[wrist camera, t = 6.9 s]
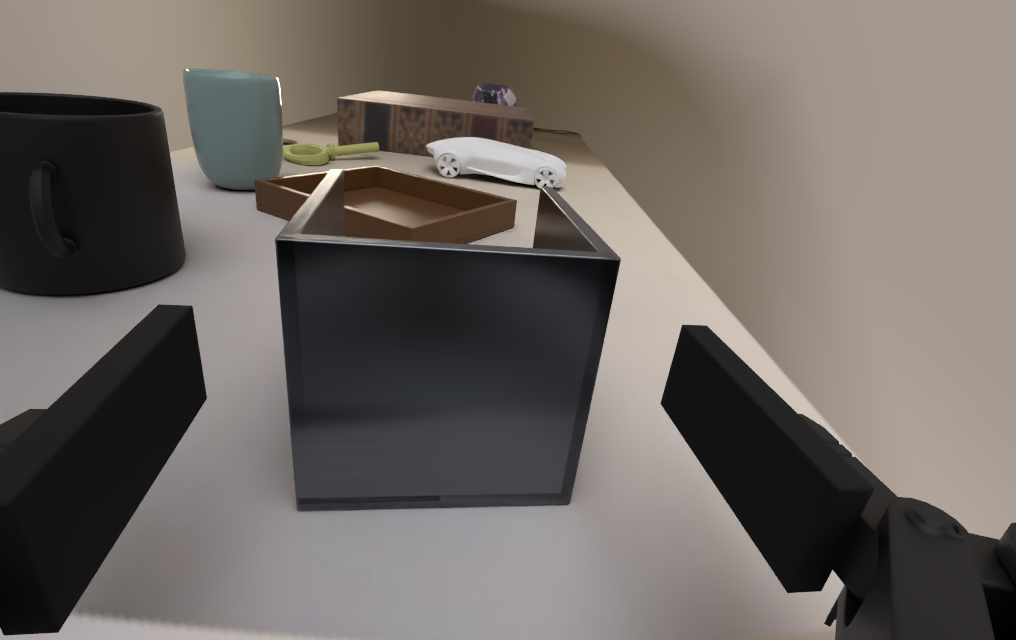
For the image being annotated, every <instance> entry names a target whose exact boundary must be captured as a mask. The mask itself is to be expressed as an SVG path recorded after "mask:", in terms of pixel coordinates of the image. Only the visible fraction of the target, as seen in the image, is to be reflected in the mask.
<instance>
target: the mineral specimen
mask: <svg viewBox="0 0 1016 640" xmlns="http://www.w3.org/2000/svg"><path fill="white" fill-rule="evenodd" d="M472 101H473V102H482V103H490V104H499V105H508V106H516V103H515V102H516V99H515V96H514V91H513V90H512V88H510V87H508V86H503V85H495V84H482V85H478V86H477V88H476V90H475V93H474V96H473V99H472Z"/></svg>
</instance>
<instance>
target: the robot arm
mask: <svg viewBox="0 0 1016 640" xmlns="http://www.w3.org/2000/svg"><path fill="white" fill-rule="evenodd" d="M206 399H207V396H206V389H205V383H204V377H203V371H202V364H201V358H200V352H199V345H198V339H197V333H196V326H195V320H194V314H193V307H192V306H181V305H158V306H157V307H156V308H154V309H153V310H152V311H151V312H150V313H149V314H148V315H147V316H146V317H145V318H144V319H143V320H142V321H141V322H140V323H139V324H137V325H136V326H135V327H134V328H133V329H132V330H131V331H130V332H129V333H128V334H127V335H126V336H125V337H124V338H123V339H121V340H120V341H119V342H118V343H117V344H116V345H115V346H114V347H113V348H112V349H111V350H110V351H109V352H108V353H107V354H105V355H104V356H103V357H102V358H101V359H100V360H99V361H98V362H97V363H96V364H95V365H94V366H93V367H92V368H91V369H90V370H88V371H87V372H86V373H85V374H84V375H83V376H82V377H81V378H80V379H79V380H78V381H77V382H76V383H75V384H74V385H72V386H71V387H70V388H69V389H68V390H67V391H66V392H65V393H64V394H63V395H62V396H61V397H60V398H59V399H58V400H57V401H55V402H54V403H53V404H52V405H51V406H50V407H49V408H48V409H29V410H27V411H25V412H24V413H22V414H20V415H18V416H16V417H14V418H12V419H10V420H8V421H6V422H5V423H3V424H1V425H0V628H1V629H2V632H3V634H4V635H19V634H38V633H57V632H59V630H60V629H61V627H62V625H63V624H64V622H65V621H66V619H67V618H68V616H69V615H70V613H71V612H72V610H73V608H74V607H75V605H76V604H77V602H78V601H79V599H80V597H81V596H82V594H83V593H84V591H85V590H86V588H87V586H88V585H89V583H90V582H91V580H92V578H93V577H94V575H95V574H96V572H97V571H98V569H99V567H100V566H101V564H102V563H103V561H104V560H105V558H106V556H107V555H108V553H109V552H110V550H111V549H112V547H113V545H114V544H115V542H116V541H117V539H118V538H119V536H120V534H121V533H122V531H123V530H124V528H125V527H126V525H127V523H128V522H129V520H130V519H131V517H132V516H133V514H134V512H135V511H136V509H137V508H138V506H139V504H140V503H141V501H142V500H143V498H144V497H145V495H146V493H147V492H148V490H149V489H150V487H151V486H152V484H153V482H154V481H155V479H156V478H157V476H158V475H159V473H160V471H161V470H162V468H163V467H164V465H165V464H166V462H167V460H168V459H169V457H170V456H171V454H172V453H173V451H174V449H175V448H176V446H177V445H178V443H179V442H180V440H181V438H182V437H183V435H184V434H185V432H186V430H187V429H188V427H189V426H190V424H191V423H192V421H193V419H194V418H195V416H196V415H197V413H198V412H199V410H200V408H201V407H202V405H203V404H204V402H205V401H206ZM661 405H662V407H663V408H664V410H665V411H666V412H667V414H668V415H669V417H670V418H671V420H672V421H673V423H674V424H675V426H676V427H677V429H678V430H679V432H680V433H681V435H682V436H683V438H684V439H685V441H686V442H687V444H688V445H689V447H690V448H691V450H692V451H693V453H694V454H695V456H696V457H697V459H698V460H699V462H700V463H701V465H702V466H703V468H704V469H705V471H706V472H707V474H708V475H709V477H710V478H711V480H712V481H713V482H714V484H715V485H716V487H717V488H718V490H719V491H720V493H721V494H722V496H723V497H724V499H725V500H726V502H727V503H728V505H729V506H730V508H731V509H732V511H733V512H734V514H735V515H736V517H737V518H738V520H739V521H740V523H741V524H742V526H743V527H744V529H745V530H746V532H747V533H748V535H749V536H750V538H751V539H752V541H753V542H754V544H755V545H756V547H757V548H758V550H759V551H760V552H761V554H762V555H763V557H764V558H765V560H766V561H767V563H768V564H769V566H770V567H771V569H772V570H773V572H774V573H775V575H776V576H777V578H778V579H779V581H780V582H781V584H782V585H783V587H784V588H785V590H786V591H787V593H795V592H814V591H821V590H822V588H823V587H824V585H825V583H826V581H827V579H828V577H829V575H830V573H831V571H832V569H833V570H834V572H835V573H836V574H837V576H838V577H839V578H840V579H841V581H842V582H843V583H844V584H845V585H844V587H843V589H842V591H841V593H840V594H839V596H838V598H837V600H836V602H835V604H834V605H833V607H832V609H831V611H830V613H829V615H828V616H827V619H826V621H825V623H824V624H826V625H828V626H831V625H832V623H833V621H834V620H835V619H837V621H836V635H835V640H1016V523H1012V524H1011V525H1010V526H1009V527H1008V529H1007V530H1006V532H1005V533H1004V535H1003V536H1002V538H1001V539H1000V540H998V539H993V538H989V537H984V536H979V535H975V534H971V533H968V532H967V530H966V529H965V528H964V527H963V526H962V525H961V524H960V523H959V522H958V521H957V520H956V519H954V518H953V517H951V516H950V515H948V514H947V513H945V512H944V511H942V510H941V509H939V508H936V507H935V506H932V505H930V504H928V503H926V502H923V501H919V500H916V499H913V498H903V497H897V496H896V495H895V494H894V493H893V492H892V491H891V490H890V489H889V488H888V487H887V486H886V485H884V484H883V483H882V482H881V481H880V480H879V479H878V478H877V477H876V476H875V475H874V474H873V473H872V472H871V471H870V470H868V469H867V468H866V467H865V466H864V465H863V464H862V463H861V462H860V461H859V460H858V459H857V458H856V457H852V454H851V453H850V452H849V451H848V450H847V449H846V448H845V447H844V446H843V445H839V441H838V440H837V439H835V438H834V437H833V436H832V435H831V434H830V433H829V432H828V431H827V430H826V429H825V428H824V427H822V426H821V425H819V424H817V423H816V422H814V421H813V420H811V419H809V418H808V417H806V416H804V415H803V414H797V413H796V412H795V411H794V410H793V409H792V408H791V407H790V406H789V405H788V404H787V403H786V402H785V401H784V400H783V399H782V398H781V397H780V396H779V395H778V394H777V393H776V392H775V391H774V390H773V389H771V388H770V387H769V386H768V385H767V384H766V383H765V382H764V381H763V380H762V379H761V378H760V377H759V376H758V375H757V374H756V373H755V372H754V371H753V370H752V369H751V368H750V367H749V366H748V365H747V364H746V363H745V362H744V361H743V360H742V359H741V358H739V357H738V356H737V355H736V354H735V353H734V352H733V351H732V350H731V349H730V348H729V347H728V346H727V345H726V344H725V343H724V342H723V341H722V340H721V339H720V338H719V337H718V336H717V335H716V334H715V333H714V332H713V331H712V330H711V329H710V328H708V327H707V326H700V325H682V328H681V332H680V335H679V339H678V342H677V346H676V350H675V353H674V357H673V361H672V364H671V368H670V371H669V375H668V379H667V382H666V386H665V390H664V393H663V397H662V400H661Z"/></svg>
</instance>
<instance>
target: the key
mask: <svg viewBox="0 0 1016 640" xmlns="http://www.w3.org/2000/svg"><path fill="white" fill-rule="evenodd" d="M376 151H379V144H378V143H377V142H373V143H362V144H354V145H344V146H333V145H332V144H328V145H327V147H325V148H323V147H320V146H316V145H310V144H296V145H290V146H287V147H286V148H284V150H283V156H284V158H285V159H287V160H289V161H291V162H294V163H298V164H303V165H321V164H325V163H327V162H328V157H329V158H330V159H331V160H334V159H335V156H341V155H350V154H359V153H368V152H376ZM302 154H307V155H302Z"/></svg>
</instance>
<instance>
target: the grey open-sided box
mask: <svg viewBox="0 0 1016 640" xmlns="http://www.w3.org/2000/svg"><path fill="white" fill-rule="evenodd" d="M275 244H276V256H277V269H278V281H279V293H280V306H281V318H282V330H283V343H284V355H285V368H286V380H287V392H288V405H289V417H290V429H291V442H292V454H293V467H294V479H295V491H296V504H297V510H339V509H381V508H423V507H466V506H508V505H551V504H570V501H571V496H572V491H573V486H574V481H575V476H576V472H577V467H578V462H579V457H580V453H581V448H582V443H583V438H584V433H585V429H586V424H587V419H588V414H589V409H590V405H591V400H592V395H593V390H594V386H595V381H596V376H597V371H598V366H599V362H600V357H601V352H602V347H603V342H604V338H605V333H606V328H607V323H608V318H609V314H610V309H611V304H612V299H613V295H614V290H615V285H616V280H617V275H618V271H619V266H620V261H621V259H620V257H619V256H618V255H617V254H616V253H615V252H614V251H613V250H612V249H611V248H610V247H609V246H608V245H607V244H606V243H605V242H604V241H603V240H602V239H601V238H600V237H599V236H598V235H597V233H596V232H595V231H594V230H593V229H592V228H591V227H590V226H589V225H588V224H587V223H586V222H585V221H584V220H583V219H582V218H581V217H580V216H579V215H578V214H577V213H576V212H575V211H574V210H573V208H572V207H571V206H570V205H569V204H568V203H567V202H566V201H565V200H564V199H563V198H562V197H561V196H560V195H559V194H558V193H557V192H556V191H555V190H554V189H553V188H552V187H548V186H541V191H540V198H539V206H538V213H537V221H536V228H535V236H534V243H533V248H521V247H504V246H488V245H471V244H455V243H438V242H422V241H405V240H388V239H372V238H355V237H345V201H344V170H339V169H331V170H330V171H329V172H328V174H327V175H326V176H325V177H324V179H323V180H322V181H321V182H320V184H319V185H318V186H317V187H316V189H315V190H314V191H313V192H312V194H311V195H310V196H309V197H308V199H307V200H306V201H305V202H304V203H303V205H302V206H301V207H300V208H299V210H298V211H297V212H296V213H295V215H294V216H293V217H292V218H291V220H290V221H289V222H288V223H287V225H286V226H285V227H284V228H283V230H282V231H281V232H280V233H279V235H278V236H277V237H276V239H275Z"/></svg>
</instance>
